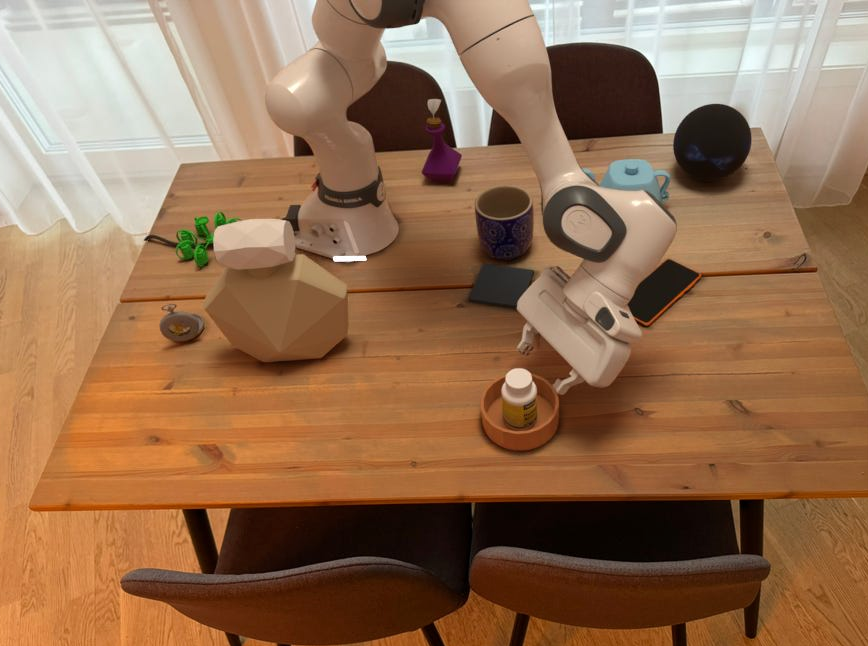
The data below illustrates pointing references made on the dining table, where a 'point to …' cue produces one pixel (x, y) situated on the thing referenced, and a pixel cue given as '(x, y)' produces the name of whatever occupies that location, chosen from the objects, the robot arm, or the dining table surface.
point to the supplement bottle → (519, 400)
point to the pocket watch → (180, 325)
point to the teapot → (634, 177)
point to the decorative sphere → (712, 142)
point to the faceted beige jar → (274, 294)
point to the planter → (504, 221)
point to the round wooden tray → (520, 438)
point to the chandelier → (201, 228)
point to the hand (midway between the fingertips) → (538, 371)
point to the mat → (500, 285)
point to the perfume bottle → (439, 150)
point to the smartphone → (661, 290)
